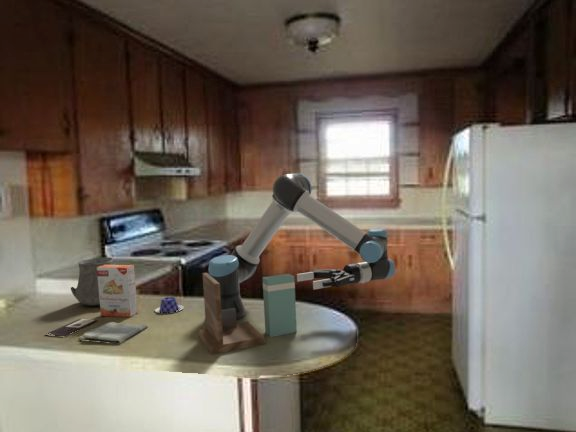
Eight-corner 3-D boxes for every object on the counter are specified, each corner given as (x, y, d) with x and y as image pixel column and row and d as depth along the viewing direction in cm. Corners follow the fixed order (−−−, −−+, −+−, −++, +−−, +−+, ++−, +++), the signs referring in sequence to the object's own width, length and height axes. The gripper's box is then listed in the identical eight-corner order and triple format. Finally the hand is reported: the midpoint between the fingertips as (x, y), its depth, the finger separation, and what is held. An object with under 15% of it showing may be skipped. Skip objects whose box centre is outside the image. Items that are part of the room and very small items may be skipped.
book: (265, 332, 167) (262, 277, 165) (291, 327, 171) (288, 273, 169) (270, 336, 162) (267, 280, 160) (296, 331, 166) (294, 276, 164)
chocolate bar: (44, 334, 174) (79, 318, 191) (44, 337, 174) (79, 321, 191) (63, 336, 171) (97, 320, 188) (64, 338, 171) (98, 322, 188)
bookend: (234, 325, 168) (233, 306, 168) (236, 327, 166) (235, 308, 165) (209, 329, 165) (208, 310, 164) (211, 331, 163) (210, 312, 162)
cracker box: (100, 316, 194) (95, 267, 192) (108, 312, 200) (104, 264, 198) (130, 318, 191) (126, 267, 188) (138, 313, 196) (134, 264, 194)
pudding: (155, 308, 204) (154, 296, 203) (183, 305, 207) (182, 293, 206) (154, 316, 192) (153, 303, 192) (184, 312, 195) (183, 300, 195)
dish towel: (149, 328, 178) (149, 320, 178) (120, 346, 161) (119, 337, 161) (108, 326, 184) (107, 318, 183) (75, 342, 166) (74, 334, 166)
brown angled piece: (248, 327, 172) (244, 267, 170) (264, 344, 156) (261, 277, 154) (199, 336, 166) (195, 274, 163) (211, 354, 149) (207, 285, 147)
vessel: (80, 314, 199) (76, 267, 197) (69, 303, 217) (65, 260, 215) (131, 303, 212) (128, 259, 210) (116, 294, 230) (113, 253, 227)
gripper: (375, 290, 165) (321, 299, 157) (340, 276, 188) (292, 284, 180) (374, 269, 165) (320, 277, 157) (339, 258, 188) (291, 265, 180)
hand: (305, 281), depth 168 cm, fingers open, 13 cm apart
